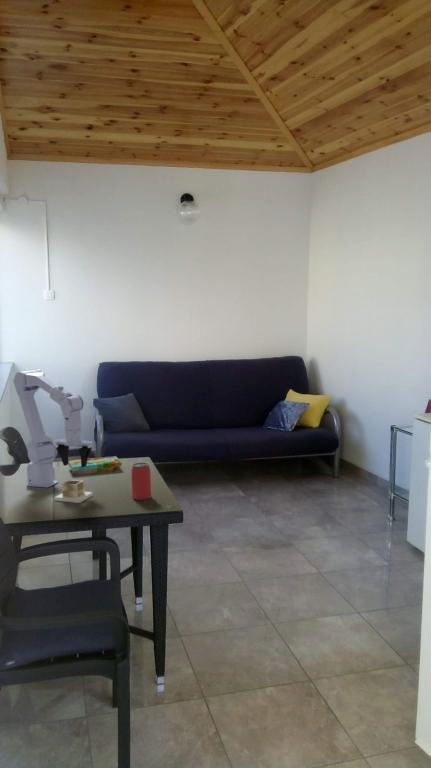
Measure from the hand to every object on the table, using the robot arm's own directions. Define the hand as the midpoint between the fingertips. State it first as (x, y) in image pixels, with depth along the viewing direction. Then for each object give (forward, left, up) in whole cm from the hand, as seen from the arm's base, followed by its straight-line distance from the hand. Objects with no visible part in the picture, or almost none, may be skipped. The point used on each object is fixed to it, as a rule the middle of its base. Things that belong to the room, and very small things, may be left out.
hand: (74, 465), depth 243 cm
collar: (+3, -7, -9) cm, 12 cm away
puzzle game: (-9, +30, -10) cm, 33 cm away
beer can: (+27, 0, -10) cm, 29 cm away
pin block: (+3, -7, -10) cm, 12 cm away
